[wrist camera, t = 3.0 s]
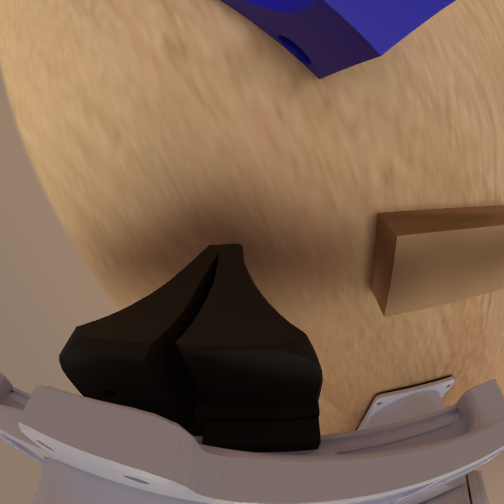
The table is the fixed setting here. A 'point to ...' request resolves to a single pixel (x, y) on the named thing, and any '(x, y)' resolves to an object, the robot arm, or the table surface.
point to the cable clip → (337, 27)
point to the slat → (437, 257)
